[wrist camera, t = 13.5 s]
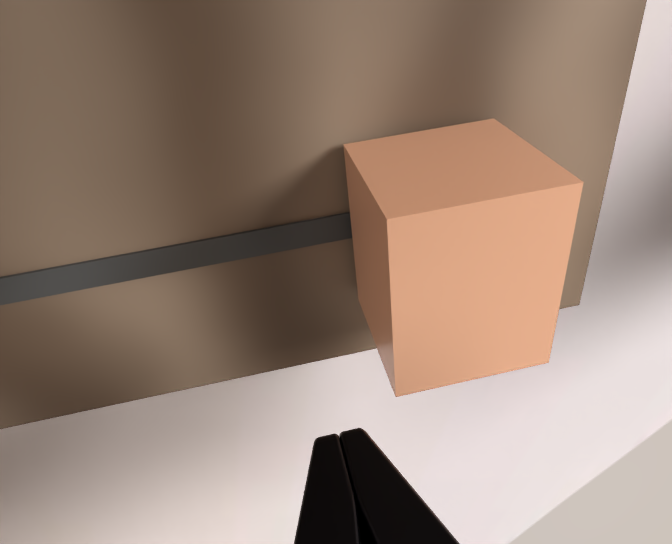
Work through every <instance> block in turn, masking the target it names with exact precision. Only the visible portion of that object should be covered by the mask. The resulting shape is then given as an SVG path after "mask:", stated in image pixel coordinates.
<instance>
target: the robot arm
mask: <svg viewBox="0 0 672 544" xmlns="http://www.w3.org/2000/svg"><path fill="white" fill-rule="evenodd" d="M339 437H340V438H339ZM294 544H459V542H458V541H457V540H456V539H455V538H454V536H453V535H452V534H451V533H450V532H449V530H448V529H447V528H446V527H445V526H444V525H443V523H442V522H441V521H440V520H439V519H438V517H437V516H436V515H435V514H434V513H433V511H432V510H431V509H430V508H429V507H428V505H427V504H426V503H425V502H424V501H423V499H422V498H421V497H420V496H419V495H418V493H417V492H416V491H415V490H414V489H413V487H412V486H411V485H410V484H409V483H408V482H407V480H406V479H405V478H404V477H403V476H402V474H401V473H400V472H399V471H398V470H397V468H396V467H395V466H394V465H393V464H392V462H391V461H390V460H389V459H388V458H387V456H386V455H385V454H384V453H383V452H382V450H381V449H380V448H379V447H378V446H377V444H376V443H375V442H374V441H373V440H372V439H371V437H370V436H369V435H368V434H367V433H366V431H364V430H363V429H361V428H357V429H352V430H348V431H344V432H341V433H340V436H338V435H337V434H331V435H327V436H322V437H318V438H317V439H316V440H315V441H314V445H313V450H312V455H311V460H310V465H309V470H308V475H307V480H306V485H305V491H304V496H303V501H302V506H301V511H300V516H299V521H298V526H297V531H296V536H295V541H294Z"/></svg>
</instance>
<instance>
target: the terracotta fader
mask: <svg viewBox="0 0 672 544" xmlns="http://www.w3.org/2000/svg"><path fill="white" fill-rule="evenodd" d="M343 146H344V156H345V166H346V177H347V187H348V197H349V208H350V218H351V228H352V239H353V249H354V259H355V270H356V280H357V290H358V300H359V302H360V305H361V308H362V310H363V313H364V315H365V318H366V321H367V323H368V326H369V328H370V331H371V334H372V336H373V339H374V342H375V344H376V347H377V349H378V352H379V355H380V357H381V360H382V362H383V365H384V368H385V370H386V373H387V376H388V378H389V381H390V383H391V386H392V389H393V391H394V394H395V396H396V397H398V396H403V395H407V394H411V393H416V392H420V391H425V390H429V389H434V388H438V387H442V386H447V385H451V384H456V383H460V382H465V381H469V380H474V379H478V378H482V377H487V376H491V375H496V374H500V373H505V372H509V371H513V370H518V369H522V368H527V367H531V366H536V365H540V364H545V363H549V358H550V353H551V348H552V343H553V337H554V332H555V327H556V322H557V317H558V312H559V307H560V301H561V296H562V291H563V286H564V281H565V276H566V270H567V265H568V260H569V255H570V250H571V245H572V240H573V234H574V229H575V224H576V219H577V214H578V209H579V203H580V198H581V193H582V188H583V183H584V182H583V181H581V180H580V179H579V178H577V177H576V176H574V175H573V174H572V173H570V172H569V171H567V170H566V169H564V168H563V167H562V166H560V165H559V164H557V163H556V162H555V161H553V160H552V159H550V158H549V157H548V156H546V155H545V154H543V153H542V152H541V151H539V150H538V149H536V148H535V147H533V146H532V145H531V144H529V143H528V142H526V141H525V140H524V139H522V138H521V137H519V136H518V135H517V134H515V133H514V132H512V131H511V130H509V129H508V128H507V127H505V126H504V125H502V124H501V123H500V122H498V121H497V120H495V119H494V118H493V119H487V120H482V121H476V122H470V123H464V124H458V125H453V126H447V127H441V128H435V129H429V130H424V131H418V132H412V133H406V134H400V135H395V136H389V137H383V138H377V139H371V140H366V141H360V142H354V143H348V144H343Z"/></svg>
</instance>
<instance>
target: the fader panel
mask: <svg viewBox="0 0 672 544" xmlns="http://www.w3.org/2000/svg"><path fill="white" fill-rule="evenodd" d="M646 1H647V0H0V429H3V428H8V427H12V426H17V425H22V424H26V423H31V422H36V421H40V420H45V419H50V418H54V417H59V416H64V415H68V414H73V413H78V412H82V411H87V410H92V409H96V408H101V407H106V406H110V405H115V404H120V403H124V402H129V401H133V400H138V399H143V398H147V397H152V396H157V395H161V394H166V393H171V392H175V391H180V390H185V389H189V388H194V387H199V386H203V385H208V384H213V383H217V382H222V381H227V380H231V379H236V378H241V377H245V376H250V375H255V374H259V373H264V372H269V371H273V370H278V369H283V368H287V367H292V366H296V365H301V364H306V363H310V362H315V361H320V360H324V359H329V358H334V357H338V356H343V355H348V354H352V353H357V352H362V351H366V350H371V349H376V348H377V347H376V344H375V342H374V339H373V336H372V334H371V331H370V328H369V326H368V323H367V321H366V318H365V315H364V313H363V310H362V308H361V305H360V302H359V300H358V290H357V280H356V270H355V259H354V249H353V239H352V228H351V218H350V208H349V197H348V187H347V177H346V166H345V156H344V146H343V144H348V143H354V142H360V141H366V140H371V139H377V138H383V137H389V136H395V135H400V134H406V133H412V132H418V131H424V130H429V129H435V128H441V127H447V126H453V125H458V124H464V123H470V122H476V121H482V120H487V119H493V118H494V119H495V120H497V121H498V122H500V123H501V124H502V125H504V126H505V127H507V128H508V129H509V130H511V131H512V132H514V133H515V134H517V135H518V136H519V137H521V138H522V139H524V140H525V141H526V142H528V143H529V144H531V145H532V146H533V147H535V148H536V149H538V150H539V151H541V152H542V153H543V154H545V155H546V156H548V157H549V158H550V159H552V160H553V161H555V162H556V163H557V164H559V165H560V166H562V167H563V168H564V169H566V170H567V171H569V172H570V173H572V174H573V175H574V176H576V177H577V178H579V179H580V180H581V181H583V182H584V183H583V188H582V193H581V198H580V203H579V209H578V214H577V219H576V224H575V229H574V234H573V240H572V245H571V250H570V255H569V260H568V265H567V270H566V276H565V281H564V286H563V291H562V296H561V301H560V307H559V309H562V308H567V307H571V306H576V305H579V303H580V299H581V294H582V290H583V285H584V281H585V276H586V272H587V267H588V263H589V258H590V254H591V249H592V245H593V240H594V236H595V231H596V227H597V222H598V217H599V213H600V208H601V204H602V199H603V195H604V190H605V186H606V181H607V177H608V172H609V168H610V163H611V159H612V154H613V150H614V145H615V141H616V136H617V132H618V127H619V123H620V118H621V114H622V109H623V105H624V100H625V96H626V91H627V87H628V82H629V78H630V73H631V69H632V64H633V60H634V55H635V51H636V46H637V42H638V37H639V33H640V28H641V24H642V19H643V15H644V10H645V6H646Z"/></svg>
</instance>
